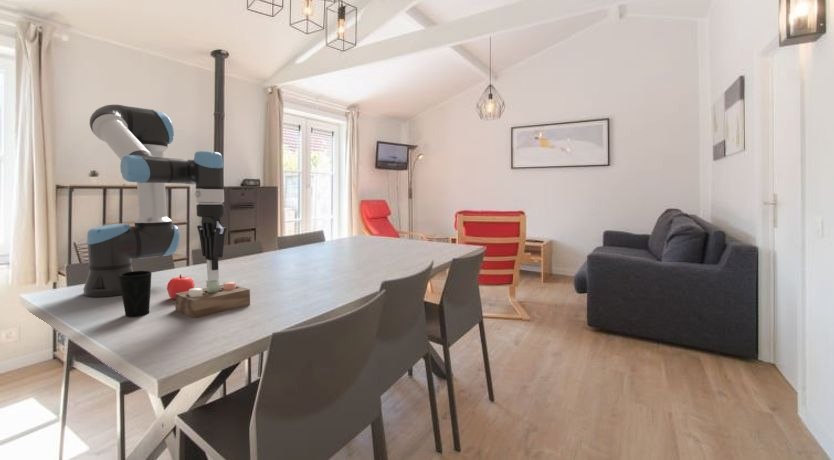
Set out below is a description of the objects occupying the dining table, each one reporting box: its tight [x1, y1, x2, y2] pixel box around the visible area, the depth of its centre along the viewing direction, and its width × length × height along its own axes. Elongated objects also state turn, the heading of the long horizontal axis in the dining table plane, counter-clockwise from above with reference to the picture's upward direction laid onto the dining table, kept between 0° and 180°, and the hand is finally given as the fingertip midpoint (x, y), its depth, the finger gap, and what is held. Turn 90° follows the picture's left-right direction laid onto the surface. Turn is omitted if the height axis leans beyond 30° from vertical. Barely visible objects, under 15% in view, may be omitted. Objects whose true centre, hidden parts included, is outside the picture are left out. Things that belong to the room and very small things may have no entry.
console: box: [174, 284, 251, 319], centre depth 120 cm, size 12×17×5 cm
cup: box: [119, 270, 152, 318], centre depth 112 cm, size 8×8×12 cm
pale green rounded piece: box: [206, 279, 221, 294], centre depth 120 cm, size 4×4×4 cm
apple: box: [166, 274, 195, 300], centre depth 130 cm, size 8×8×8 cm
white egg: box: [189, 287, 203, 298], centre depth 116 cm, size 4×4×4 cm
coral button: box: [222, 281, 237, 291], centre depth 124 cm, size 4×4×4 cm
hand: (213, 279), depth 120 cm, fingers closed
